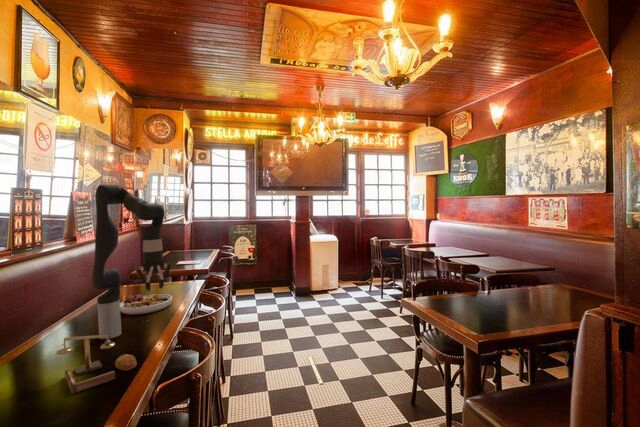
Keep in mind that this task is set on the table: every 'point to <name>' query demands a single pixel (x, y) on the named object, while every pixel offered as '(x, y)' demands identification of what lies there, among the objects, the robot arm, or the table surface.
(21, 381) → the table surface
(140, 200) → the robot arm
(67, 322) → the table surface
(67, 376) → the rail
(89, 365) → the balance
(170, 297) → the bowl
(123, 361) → the pastry
